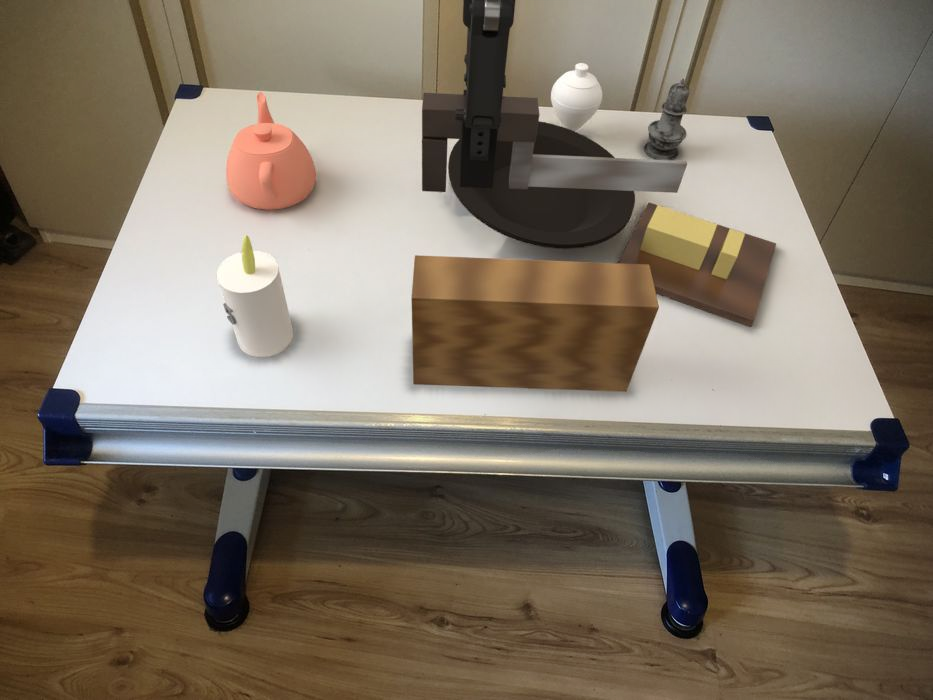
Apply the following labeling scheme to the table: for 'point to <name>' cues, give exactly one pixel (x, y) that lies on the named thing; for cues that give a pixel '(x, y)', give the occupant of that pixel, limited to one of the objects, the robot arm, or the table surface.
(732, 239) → the butter slice
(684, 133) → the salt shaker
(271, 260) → the candle
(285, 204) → the teapot
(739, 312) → the board
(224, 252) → the table surface
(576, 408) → the table surface
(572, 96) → the spinning top
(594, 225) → the plate
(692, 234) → the butter block
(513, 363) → the wood grain block
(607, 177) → the brown and grey bar
